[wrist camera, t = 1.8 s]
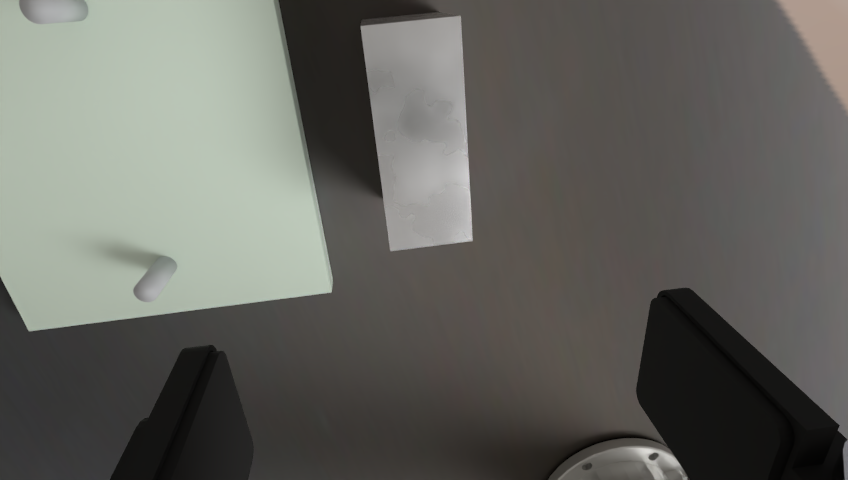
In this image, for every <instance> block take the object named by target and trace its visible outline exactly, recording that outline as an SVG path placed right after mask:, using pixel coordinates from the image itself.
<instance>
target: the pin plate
mask: <svg viewBox="0 0 848 480" xmlns="http://www.w3.org/2000/svg"><path fill="white" fill-rule="evenodd" d="M0 277H1V279H2V281H3V283H4V285H5V287H6V288H7V290H8V292H9V294H10V296H11V298H12V300H13V302H14V304H15V306H16V308H17V309H18V311H19V313H20V315H21V317H22V319H23V321H24V323H25V325H26V327H27V328H28V330H29V331H36V330H44V329H51V328H59V327H67V326H75V325H82V324H90V323H98V322H106V321H113V320H121V319H129V318H137V317H144V316H152V315H160V314H168V313H176V312H183V311H191V310H199V309H207V308H214V307H222V306H230V305H238V304H245V303H253V302H261V301H269V300H276V299H284V298H292V297H300V296H307V295H315V294H323V293H331V292H332V284H333V278H332V273H331V268H330V263H329V257H328V252H327V247H326V242H325V237H324V232H323V227H322V221H321V216H320V211H319V206H318V201H317V196H316V191H315V185H314V180H313V175H312V170H311V165H310V160H309V155H308V150H307V144H306V139H305V134H304V129H303V124H302V119H301V114H300V108H299V103H298V98H297V93H296V88H295V83H294V78H293V72H292V67H291V62H290V57H289V52H288V47H287V42H286V36H285V31H284V26H283V21H282V16H281V11H280V6H279V0H0Z"/></svg>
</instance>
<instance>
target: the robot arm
mask: <svg viewBox="0 0 848 480" xmlns="http://www.w3.org/2000/svg"><path fill="white" fill-rule="evenodd" d="M636 392H637V398H638V401H639V403H640V405H641V407H642V408H643V410H644V411H645V413H646V414H647V416H648V417H649V419H650V420H651V422H652V423H653V425H654V426H655V428H656V429H657V431H658V432H659V434H660V435H661V437H662V438H663V440H664V441H665V443H666V444H667V446H668V447H669V448H667V447H665V446H664V445H662V444H660V443H657V442H654V441H652V440H646V439H640V438H621V439H615V440H609V441H605V442H602V443H598V444H595V445H593V446H590V447H588V448H586V449H583V450H581V451H580V452H578V453H576V454H575V455H573V456H571V457H570V458H568V459H567V460H566V461H565V462H563V463H562V464H561V465H560V466H559V467H558V468H557V469H556V470H555V471H554V472H553V473H552V475H551V476H550V477H549V479H548V480H688V477H689V479H690V480H848V440H847V439H846V438H845V437H844V436H843V435H842V434H841V433H840V432H839V431H837V430H838V428H839V425H838V424H837V423H836V422H835V421H834V420H833V419H832V418H831V417H830V416H829V415H827V414H826V413H825V412H824V411H823V410H822V409H821V408H820V407H819V406H818V405H817V404H815V403H814V402H813V401H812V400H811V399H810V398H809V397H808V396H807V395H806V394H805V393H804V392H802V391H801V390H800V389H799V388H798V387H797V386H796V385H795V384H794V383H793V382H792V381H790V380H789V379H788V378H787V377H786V376H785V375H784V374H783V373H782V372H781V371H780V370H778V369H777V368H776V367H775V366H774V365H773V364H772V363H771V362H770V361H769V360H768V359H766V358H765V357H764V356H763V355H762V354H761V353H760V352H759V351H758V350H757V349H756V348H755V347H753V346H752V345H751V344H750V343H749V342H748V341H747V340H746V339H745V338H744V337H743V336H741V335H740V334H739V333H738V332H737V331H736V330H735V329H734V328H733V327H732V326H731V325H729V324H728V323H727V322H726V321H725V320H724V319H723V318H722V317H721V316H720V315H719V314H718V313H716V312H715V311H714V310H713V309H712V308H711V307H710V306H709V305H708V304H707V303H706V302H704V301H703V300H702V299H701V298H700V297H699V296H698V295H697V294H696V293H695V292H694V291H692V290H691V289H689V288H679V289H671V290H663V291H661V292H659V294H658V296H657V298H654V299H653V300H652V301H651V304H650V310H649V316H648V322H647V328H646V334H645V340H644V346H643V352H642V358H641V364H640V370H639V376H638V382H637V388H636ZM252 459H253V441H252V438H251V434H250V431H249V428H248V425H247V421H246V418H245V415H244V412H243V409H242V405H241V402H240V399H239V396H238V392H237V389H236V386H235V383H234V379H233V376H232V373H231V370H230V367H229V363H228V360H227V357H226V354H225V353H224V351H217V350H216V348H215V347H214V346H212V345H208V346H200V347H192V348H185V349H183V350H182V351H181V353H180V355H179V357H178V359H177V361H176V363H175V365H174V367H173V369H172V371H171V373H170V375H169V377H168V379H167V381H166V384H165V386H164V388H163V390H162V392H161V394H160V396H159V398H158V400H157V402H156V404H155V406H154V408H153V410H152V412H151V414H150V416H149V418H145V419H143V420H142V421H141V422H140V423H139V424H138V426H137V427H136V429H135V431H134V433H133V435H132V437H131V439H130V441H129V443H128V445H127V447H126V449H125V451H124V453H123V455H122V457H121V459H120V461H119V463H118V465H117V467H116V469H115V471H114V473H113V474H112V476H111V478H110V480H248V477H249V473H250V468H251V464H252ZM687 476H688V477H687Z"/></svg>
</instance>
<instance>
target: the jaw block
mask: <svg viewBox="0 0 848 480" xmlns="http://www.w3.org/2000/svg"><path fill="white" fill-rule="evenodd" d="M360 27H361V35H362V42H363V50H364V57H365V65H366V72H367V80H368V87H369V95H370V102H371V110H372V117H373V125H374V132H375V140H376V147H377V155H378V162H379V170H380V177H381V185H382V192H383V200H384V207H385V215H386V222H387V230H388V237H389V245H390V251H396V250H404V249H412V248H420V247H428V246H436V245H444V244H452V243H459V242H467V241H473V239H472V220H471V201H470V182H469V163H468V144H467V126H466V107H465V88H464V69H463V50H462V31H461V16H459V15H453V14H448V13H442V12H433V13H423V14H413V15H403V16H393V17H383V18H374V19H364V20H362V21H361V26H360Z"/></svg>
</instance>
